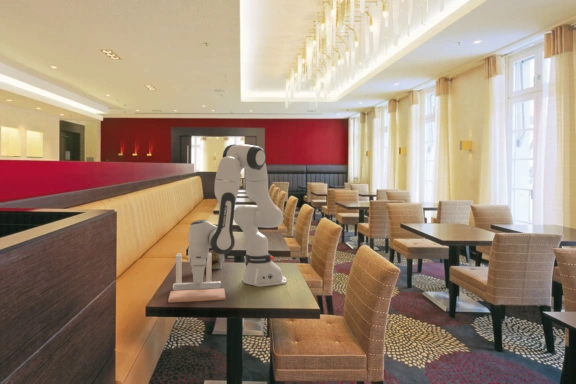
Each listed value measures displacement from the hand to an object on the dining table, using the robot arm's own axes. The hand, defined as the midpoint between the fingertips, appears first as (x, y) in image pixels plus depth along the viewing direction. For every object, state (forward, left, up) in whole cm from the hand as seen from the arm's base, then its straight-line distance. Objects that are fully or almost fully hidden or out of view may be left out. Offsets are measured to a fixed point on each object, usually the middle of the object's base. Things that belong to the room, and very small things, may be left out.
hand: (197, 287), depth 162 cm
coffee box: (-9, -48, -4) cm, 49 cm away
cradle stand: (+2, -14, -4) cm, 15 cm away
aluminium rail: (0, 0, 0) cm, 0 cm away
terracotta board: (0, -1, -4) cm, 4 cm away
